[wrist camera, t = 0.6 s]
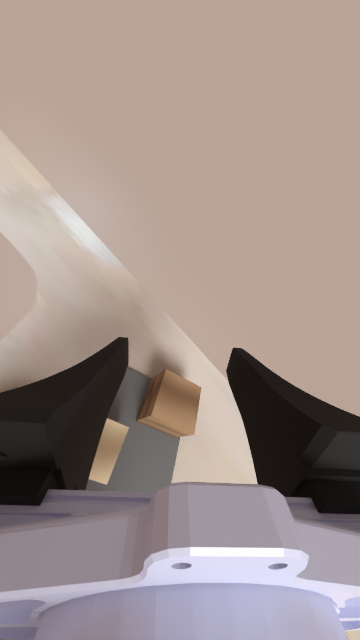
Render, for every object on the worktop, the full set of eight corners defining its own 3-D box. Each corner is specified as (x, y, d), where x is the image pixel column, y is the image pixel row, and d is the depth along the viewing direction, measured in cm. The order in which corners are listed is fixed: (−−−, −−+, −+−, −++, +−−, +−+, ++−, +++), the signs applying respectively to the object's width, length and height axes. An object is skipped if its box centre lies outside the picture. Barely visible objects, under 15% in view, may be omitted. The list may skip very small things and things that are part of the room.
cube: (96, 479, 18) (106, 484, 15) (54, 465, 17) (55, 468, 14) (117, 431, 21) (129, 427, 18) (82, 417, 20) (88, 410, 17)
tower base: (173, 437, 24) (183, 436, 23) (135, 421, 23) (142, 418, 21) (182, 395, 29) (191, 391, 27) (151, 379, 27) (158, 374, 25)
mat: (161, 523, 19) (162, 524, 19) (32, 486, 16) (31, 487, 16) (186, 398, 29) (187, 397, 29) (109, 359, 26) (110, 358, 25)
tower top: (183, 436, 23) (194, 434, 21) (142, 418, 21) (151, 415, 20) (191, 391, 27) (201, 387, 25) (158, 374, 25) (166, 368, 24)
